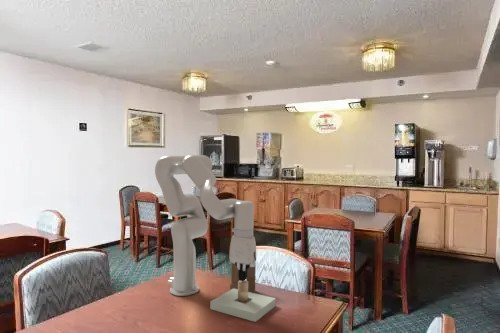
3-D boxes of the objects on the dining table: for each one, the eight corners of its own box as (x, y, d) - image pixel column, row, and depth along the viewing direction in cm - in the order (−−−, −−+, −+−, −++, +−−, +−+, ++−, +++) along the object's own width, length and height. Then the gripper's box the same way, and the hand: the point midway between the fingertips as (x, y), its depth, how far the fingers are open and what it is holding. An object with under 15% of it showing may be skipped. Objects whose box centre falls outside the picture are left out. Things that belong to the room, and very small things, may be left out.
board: (210, 309, 133) (210, 301, 133) (233, 295, 147) (233, 288, 147) (255, 321, 123) (255, 313, 123) (275, 305, 137) (275, 298, 137)
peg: (235, 308, 134) (235, 282, 134) (241, 304, 138) (241, 279, 138) (244, 310, 132) (244, 284, 132) (250, 306, 136) (250, 281, 136)
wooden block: (254, 293, 150) (255, 252, 149) (230, 292, 151) (230, 251, 150) (255, 290, 153) (255, 249, 153) (231, 289, 154) (231, 249, 154)
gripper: (222, 232, 135) (221, 278, 136) (255, 237, 128) (254, 286, 128) (233, 228, 142) (232, 273, 142) (265, 233, 134) (264, 280, 135)
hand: (242, 279), depth 135 cm, fingers closed
